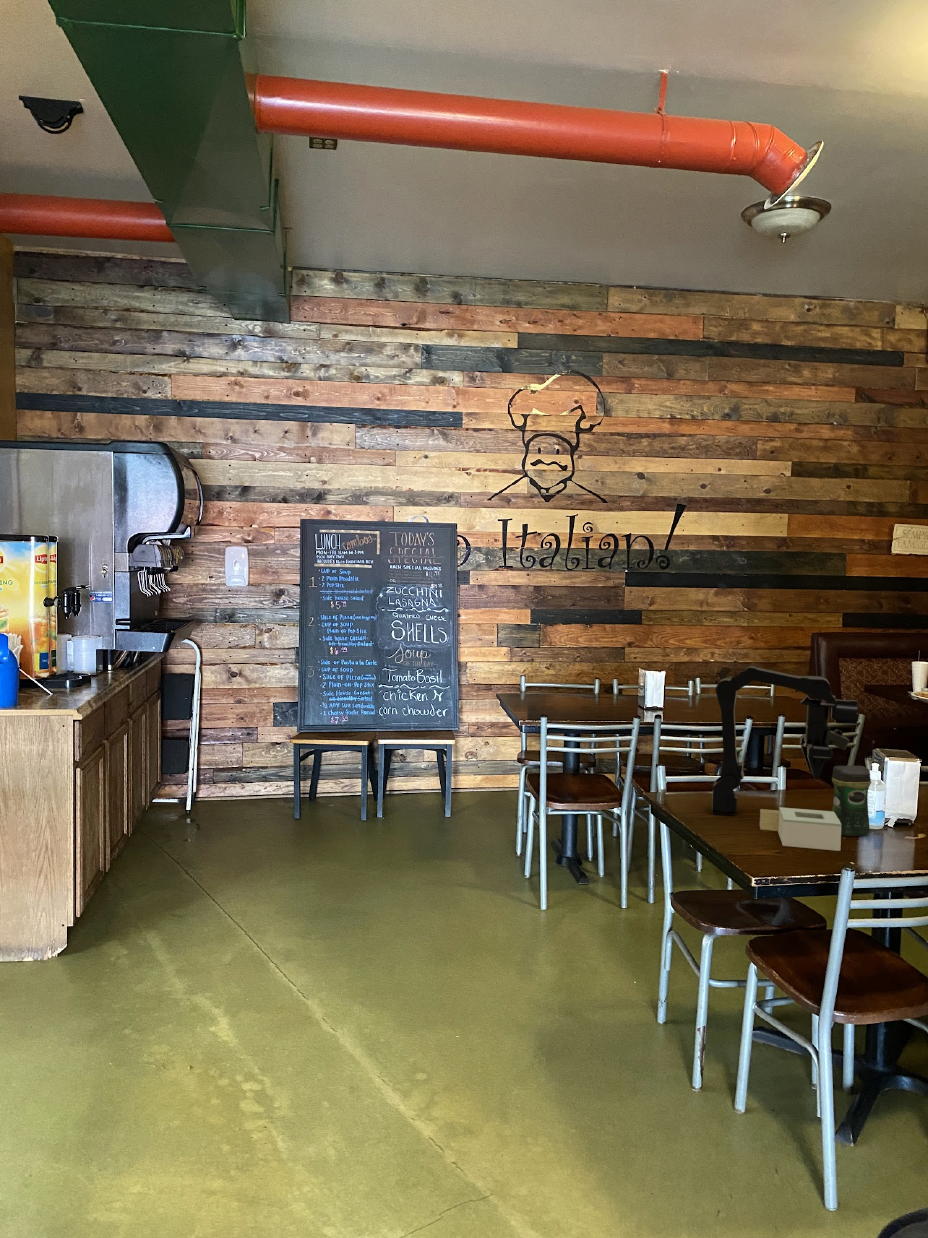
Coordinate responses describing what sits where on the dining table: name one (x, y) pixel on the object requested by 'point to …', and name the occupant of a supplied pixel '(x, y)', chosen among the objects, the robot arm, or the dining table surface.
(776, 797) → the dining table surface
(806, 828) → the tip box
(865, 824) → the coffee jar
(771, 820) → the tan wooden block
